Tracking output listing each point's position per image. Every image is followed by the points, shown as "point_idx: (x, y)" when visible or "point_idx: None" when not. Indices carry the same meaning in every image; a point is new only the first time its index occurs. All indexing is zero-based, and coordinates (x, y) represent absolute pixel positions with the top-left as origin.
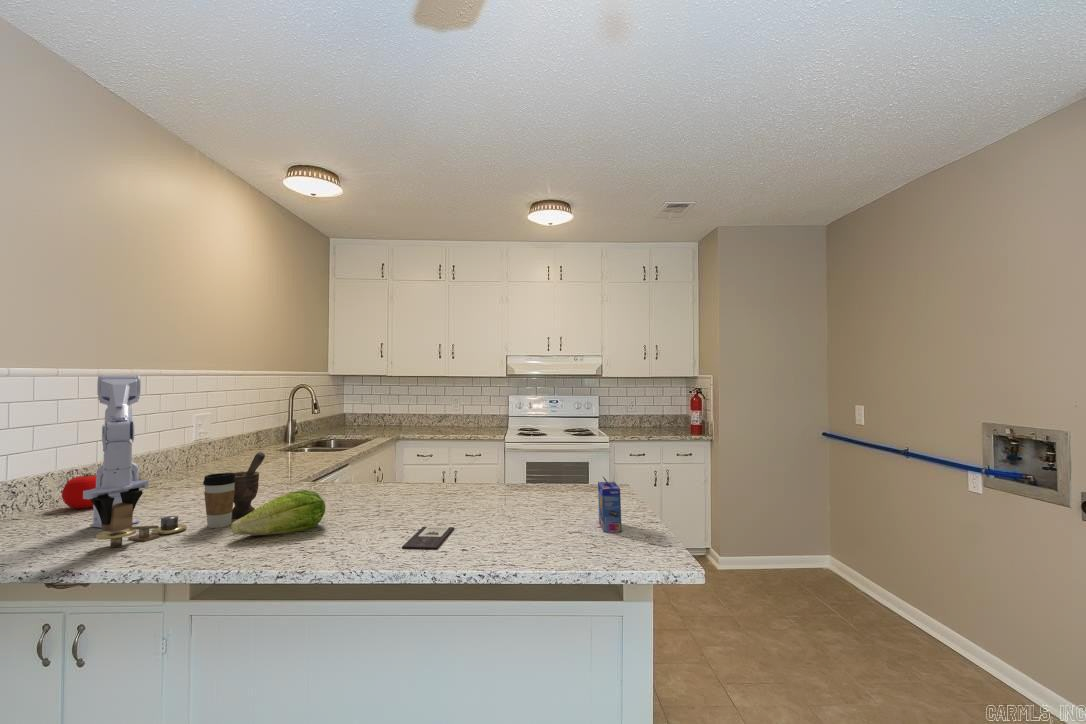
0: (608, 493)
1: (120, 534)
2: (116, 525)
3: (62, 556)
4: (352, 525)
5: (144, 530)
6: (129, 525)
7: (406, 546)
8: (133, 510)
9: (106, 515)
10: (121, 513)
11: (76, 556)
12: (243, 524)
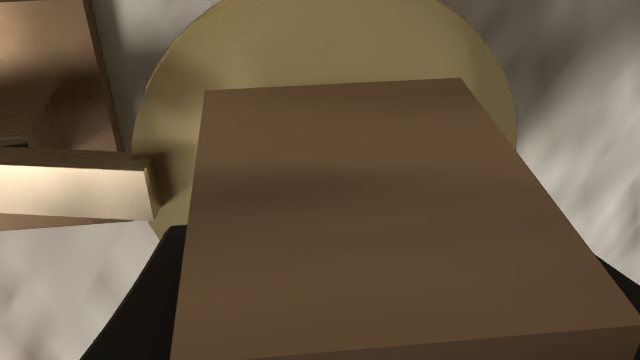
0: None
1: (372, 46)
2: (448, 118)
3: (618, 209)
4: None
5: (14, 129)
6: (248, 102)
7: None
8: (126, 302)
9: (628, 285)
10: (421, 228)
11: (610, 118)
12: None
